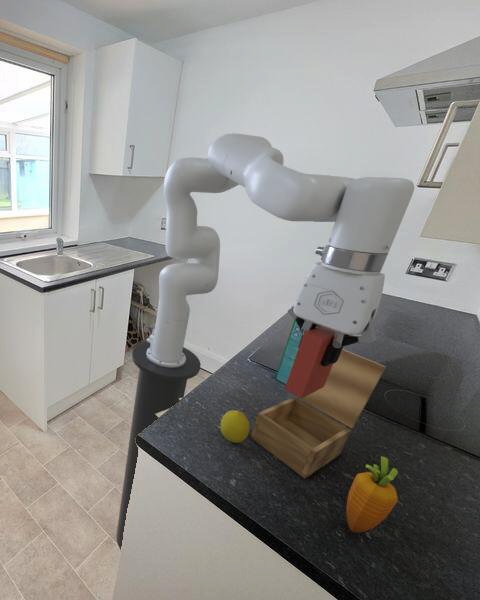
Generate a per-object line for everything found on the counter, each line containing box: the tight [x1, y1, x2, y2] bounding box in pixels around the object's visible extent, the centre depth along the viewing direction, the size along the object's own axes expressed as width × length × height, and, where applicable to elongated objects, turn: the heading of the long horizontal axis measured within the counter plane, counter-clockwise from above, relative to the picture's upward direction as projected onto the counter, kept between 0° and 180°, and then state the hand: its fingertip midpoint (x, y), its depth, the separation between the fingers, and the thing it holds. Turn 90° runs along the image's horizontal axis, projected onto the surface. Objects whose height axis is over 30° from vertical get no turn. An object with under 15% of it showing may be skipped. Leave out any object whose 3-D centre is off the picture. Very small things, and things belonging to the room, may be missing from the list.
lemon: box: [219, 410, 250, 444], centre depth 67 cm, size 6×6×8 cm
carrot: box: [345, 456, 399, 534], centre depth 49 cm, size 5×5×15 cm
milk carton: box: [275, 319, 321, 385], centre depth 86 cm, size 9×9×25 cm
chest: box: [250, 396, 352, 479], centre depth 67 cm, size 14×12×7 cm
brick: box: [284, 326, 335, 400], centre depth 57 cm, size 3×8×12 cm, turn 119°
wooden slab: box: [295, 348, 387, 429], centre depth 67 cm, size 14×12×1 cm
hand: (315, 358), depth 56 cm, fingers closed on brick, 3 cm apart
